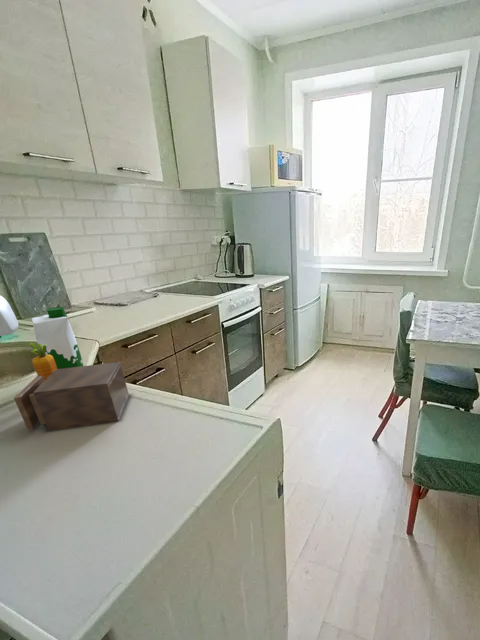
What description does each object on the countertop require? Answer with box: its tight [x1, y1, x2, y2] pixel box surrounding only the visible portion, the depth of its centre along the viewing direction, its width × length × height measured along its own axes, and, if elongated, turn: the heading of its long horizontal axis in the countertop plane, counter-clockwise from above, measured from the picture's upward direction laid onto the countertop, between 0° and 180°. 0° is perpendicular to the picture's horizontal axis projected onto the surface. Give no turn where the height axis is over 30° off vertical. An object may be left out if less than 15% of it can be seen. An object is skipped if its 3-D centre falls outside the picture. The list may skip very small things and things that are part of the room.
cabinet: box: [33, 361, 130, 432], centre depth 82 cm, size 15×13×10 cm
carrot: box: [28, 342, 57, 381], centre depth 90 cm, size 5×5×15 cm
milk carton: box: [31, 306, 84, 369], centre depth 100 cm, size 9×9×20 cm
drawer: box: [13, 375, 48, 430], centre depth 81 cm, size 15×11×8 cm
